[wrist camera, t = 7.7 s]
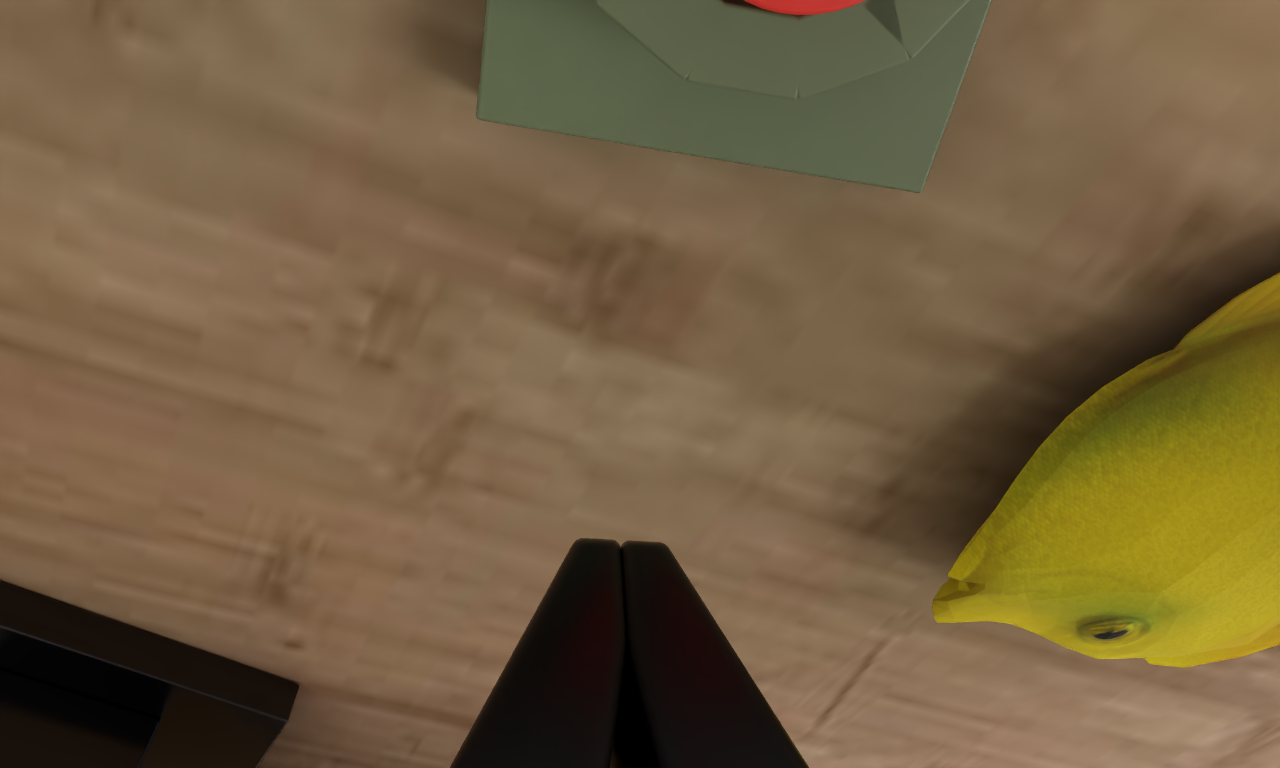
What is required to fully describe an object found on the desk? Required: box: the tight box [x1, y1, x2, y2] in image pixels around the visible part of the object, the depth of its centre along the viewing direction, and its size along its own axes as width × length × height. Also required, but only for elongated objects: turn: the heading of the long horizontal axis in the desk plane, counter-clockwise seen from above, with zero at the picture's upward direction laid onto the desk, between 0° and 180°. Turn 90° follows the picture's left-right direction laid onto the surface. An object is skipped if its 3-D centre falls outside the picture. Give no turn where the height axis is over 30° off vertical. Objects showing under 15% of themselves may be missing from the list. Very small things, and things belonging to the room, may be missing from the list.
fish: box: [932, 272, 1280, 668], centre depth 22 cm, size 3×16×10 cm
